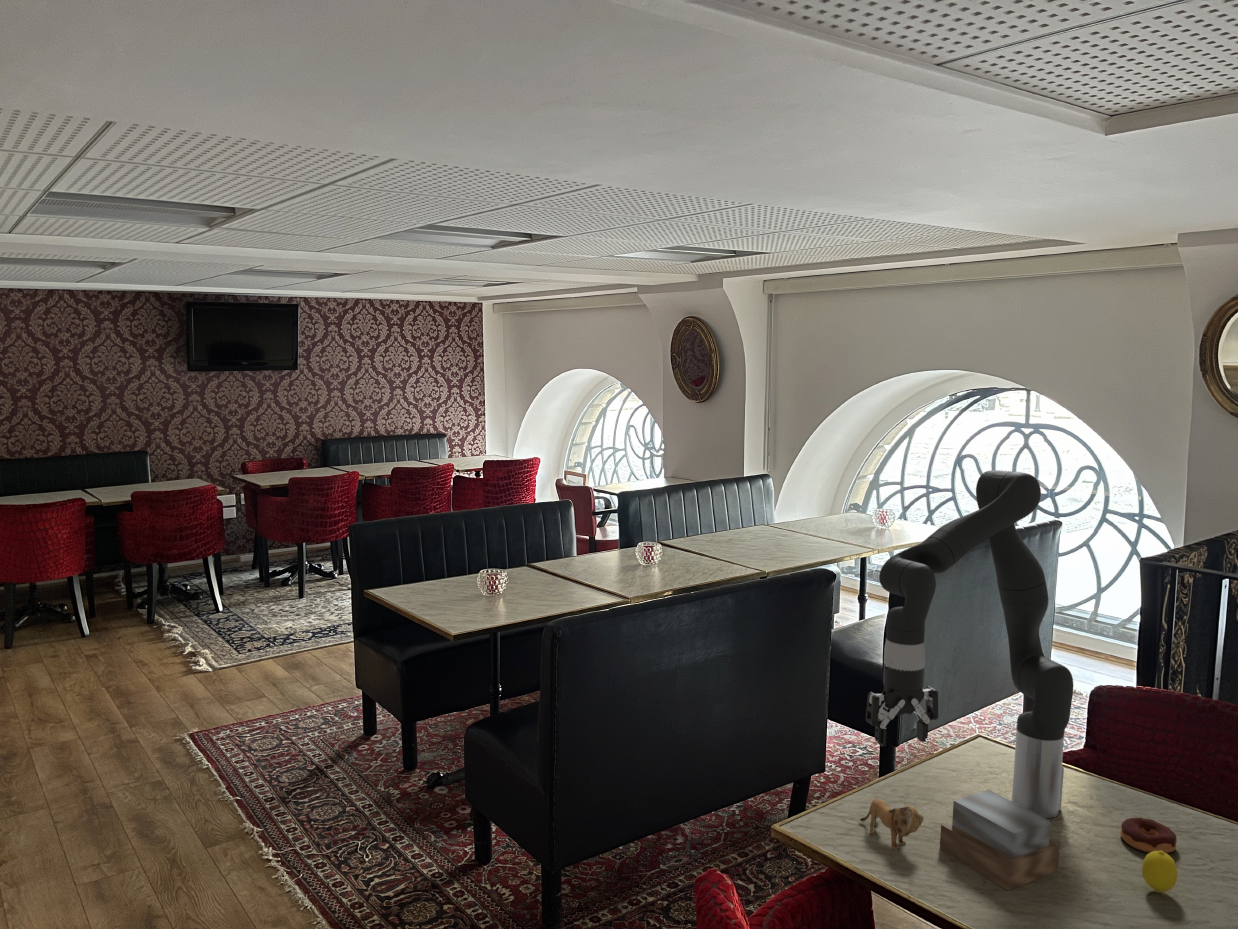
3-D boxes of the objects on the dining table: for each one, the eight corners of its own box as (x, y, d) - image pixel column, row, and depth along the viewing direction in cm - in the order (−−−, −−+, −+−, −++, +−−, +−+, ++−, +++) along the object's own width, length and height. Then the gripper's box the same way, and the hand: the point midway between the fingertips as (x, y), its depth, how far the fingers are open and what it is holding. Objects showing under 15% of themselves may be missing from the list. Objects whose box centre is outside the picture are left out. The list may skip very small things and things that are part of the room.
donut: (1122, 826, 189) (1124, 808, 189) (1177, 841, 184) (1179, 822, 183) (1116, 847, 181) (1117, 828, 181) (1173, 863, 175) (1175, 844, 175)
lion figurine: (926, 851, 179) (928, 807, 178) (908, 859, 176) (910, 815, 175) (867, 819, 191) (869, 778, 190) (850, 826, 188) (852, 784, 187)
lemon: (1133, 884, 168) (1137, 843, 167) (1161, 883, 169) (1165, 842, 168) (1153, 902, 163) (1157, 860, 162) (1182, 900, 163) (1186, 859, 162)
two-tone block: (988, 831, 186) (991, 785, 185) (1058, 870, 172) (1061, 821, 171) (939, 848, 180) (942, 800, 178) (1008, 890, 166) (1011, 839, 164)
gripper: (926, 653, 180) (923, 731, 182) (860, 658, 177) (858, 738, 179) (948, 665, 173) (944, 747, 175) (880, 672, 169) (877, 754, 171)
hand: (901, 742), depth 177 cm, fingers open, 8 cm apart
